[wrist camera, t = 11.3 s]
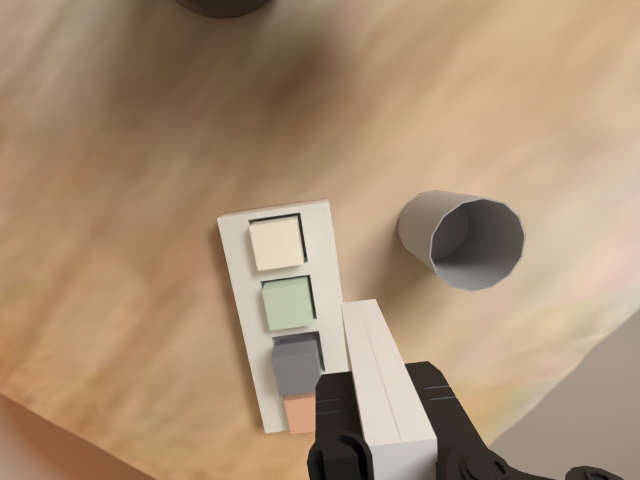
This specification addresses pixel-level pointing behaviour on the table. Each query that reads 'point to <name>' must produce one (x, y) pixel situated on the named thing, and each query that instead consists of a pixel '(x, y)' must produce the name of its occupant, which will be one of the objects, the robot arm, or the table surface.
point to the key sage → (288, 303)
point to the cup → (463, 237)
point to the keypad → (251, 281)
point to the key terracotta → (301, 412)
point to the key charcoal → (296, 365)
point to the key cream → (277, 243)
